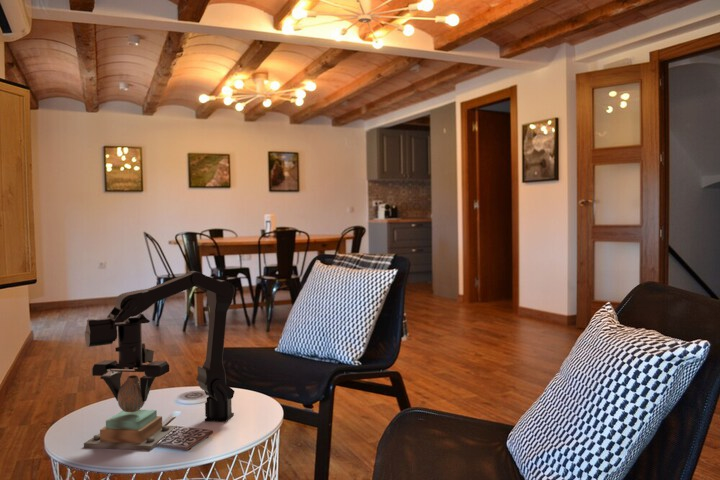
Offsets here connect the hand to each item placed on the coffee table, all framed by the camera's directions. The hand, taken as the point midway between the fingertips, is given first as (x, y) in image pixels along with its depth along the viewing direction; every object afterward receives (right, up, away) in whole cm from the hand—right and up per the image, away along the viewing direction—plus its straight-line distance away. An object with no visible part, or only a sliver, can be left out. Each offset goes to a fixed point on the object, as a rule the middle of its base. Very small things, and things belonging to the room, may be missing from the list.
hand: (131, 401), depth 146 cm
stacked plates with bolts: (0, -10, 0) cm, 10 cm away
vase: (0, -3, 0) cm, 3 cm away
